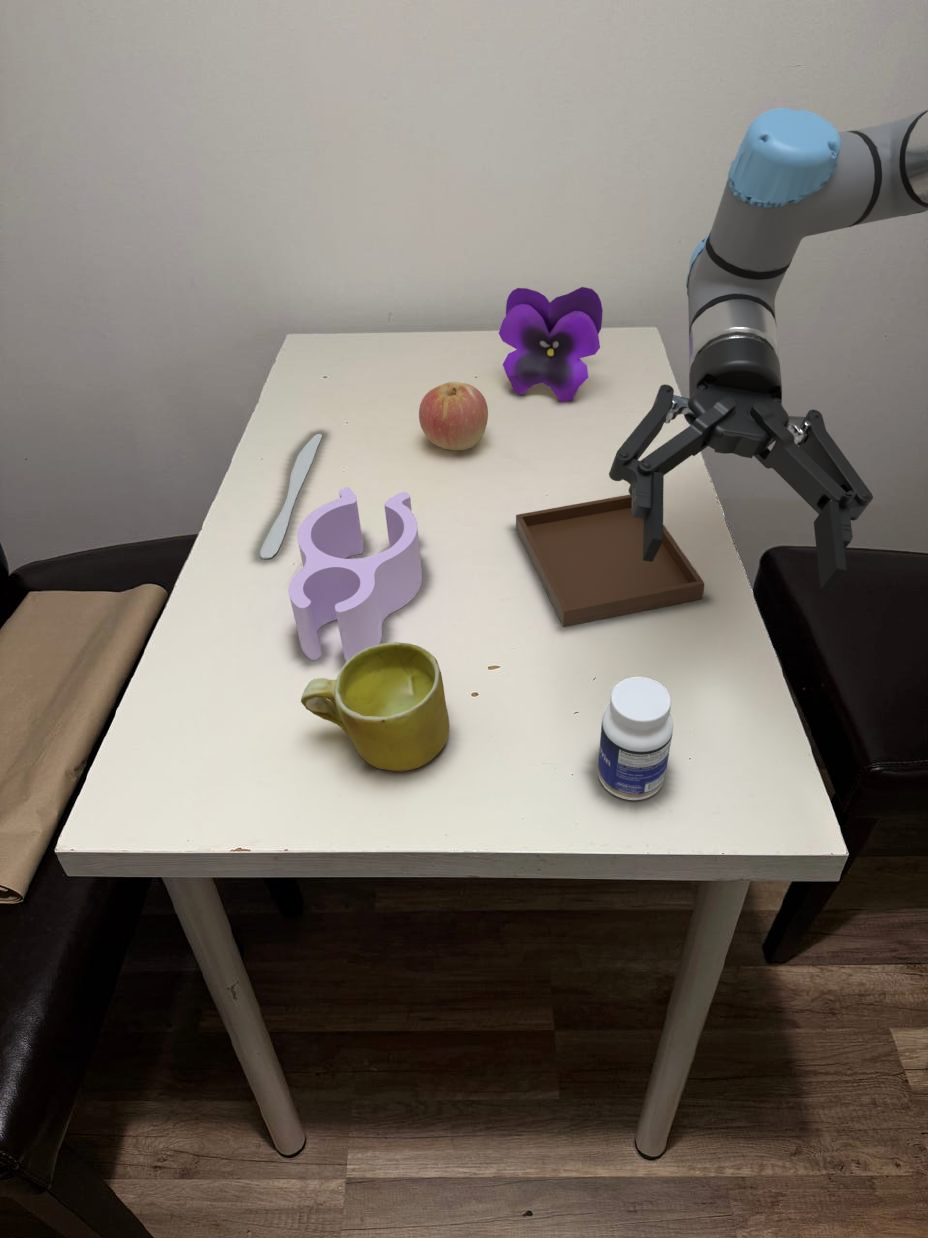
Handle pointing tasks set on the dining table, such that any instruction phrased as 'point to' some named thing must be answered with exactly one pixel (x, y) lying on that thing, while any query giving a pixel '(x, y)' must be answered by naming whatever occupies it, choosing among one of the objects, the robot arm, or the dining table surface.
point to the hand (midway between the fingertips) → (743, 566)
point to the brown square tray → (603, 561)
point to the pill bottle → (635, 738)
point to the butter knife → (290, 498)
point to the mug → (386, 705)
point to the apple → (453, 416)
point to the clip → (353, 573)
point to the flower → (550, 339)
